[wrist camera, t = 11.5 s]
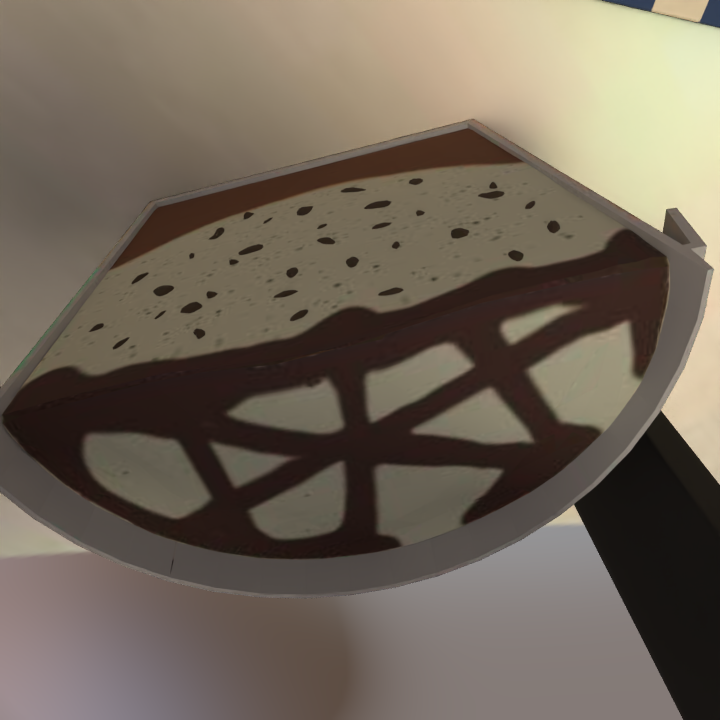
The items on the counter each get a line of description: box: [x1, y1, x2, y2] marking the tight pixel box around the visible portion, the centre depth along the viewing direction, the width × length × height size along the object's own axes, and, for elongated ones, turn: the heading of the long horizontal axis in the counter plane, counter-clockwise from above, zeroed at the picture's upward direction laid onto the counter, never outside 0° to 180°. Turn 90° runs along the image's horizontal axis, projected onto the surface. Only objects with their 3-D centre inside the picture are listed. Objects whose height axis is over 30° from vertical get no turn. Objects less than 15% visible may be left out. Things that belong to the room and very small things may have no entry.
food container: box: [0, 119, 714, 598], centre depth 15 cm, size 12×6×10 cm, turn 103°
